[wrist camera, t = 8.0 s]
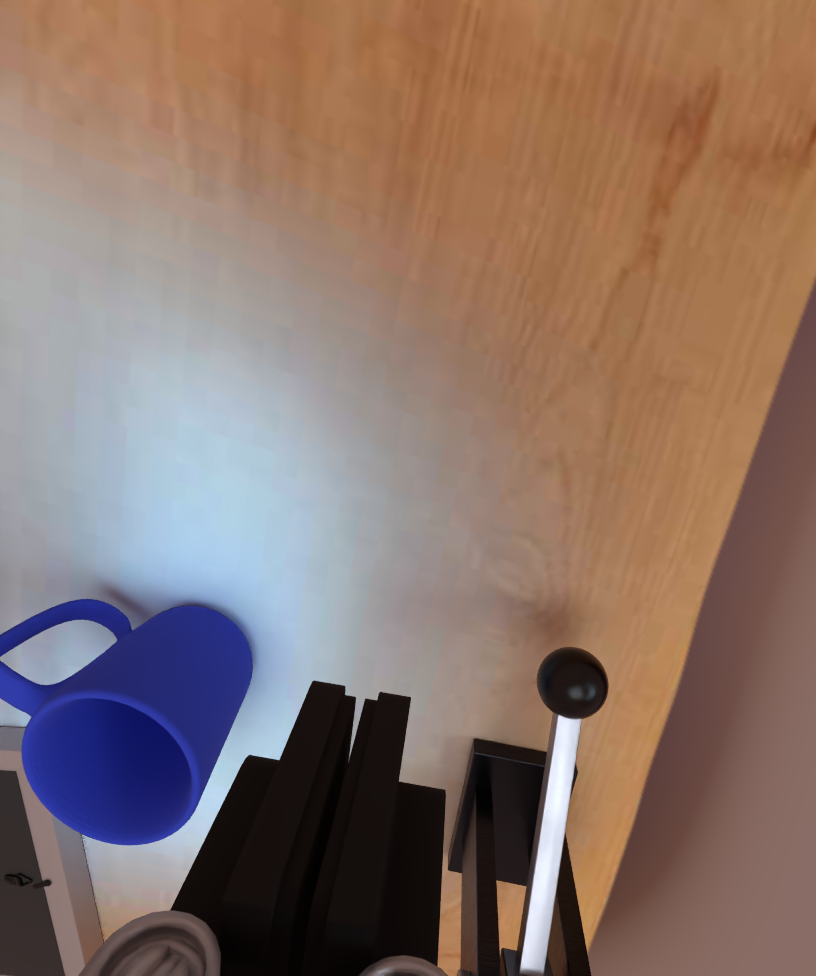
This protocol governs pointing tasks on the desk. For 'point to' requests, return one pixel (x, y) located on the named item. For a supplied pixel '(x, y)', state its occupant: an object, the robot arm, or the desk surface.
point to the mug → (130, 719)
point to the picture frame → (40, 880)
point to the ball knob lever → (554, 798)
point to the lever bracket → (507, 858)
